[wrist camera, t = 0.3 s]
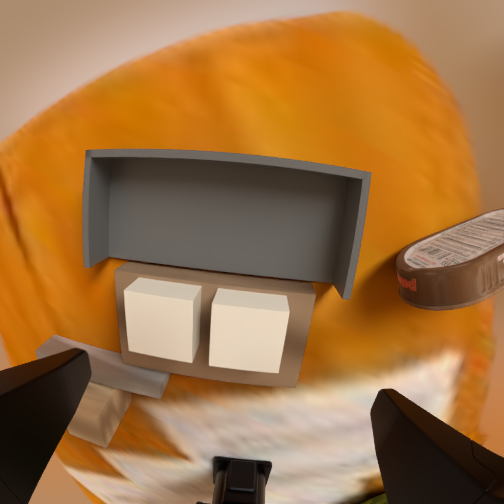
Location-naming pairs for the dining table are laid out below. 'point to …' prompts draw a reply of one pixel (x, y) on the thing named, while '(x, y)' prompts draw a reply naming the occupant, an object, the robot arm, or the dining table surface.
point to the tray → (225, 213)
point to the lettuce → (377, 500)
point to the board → (295, 339)
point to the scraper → (106, 389)
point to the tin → (454, 264)
